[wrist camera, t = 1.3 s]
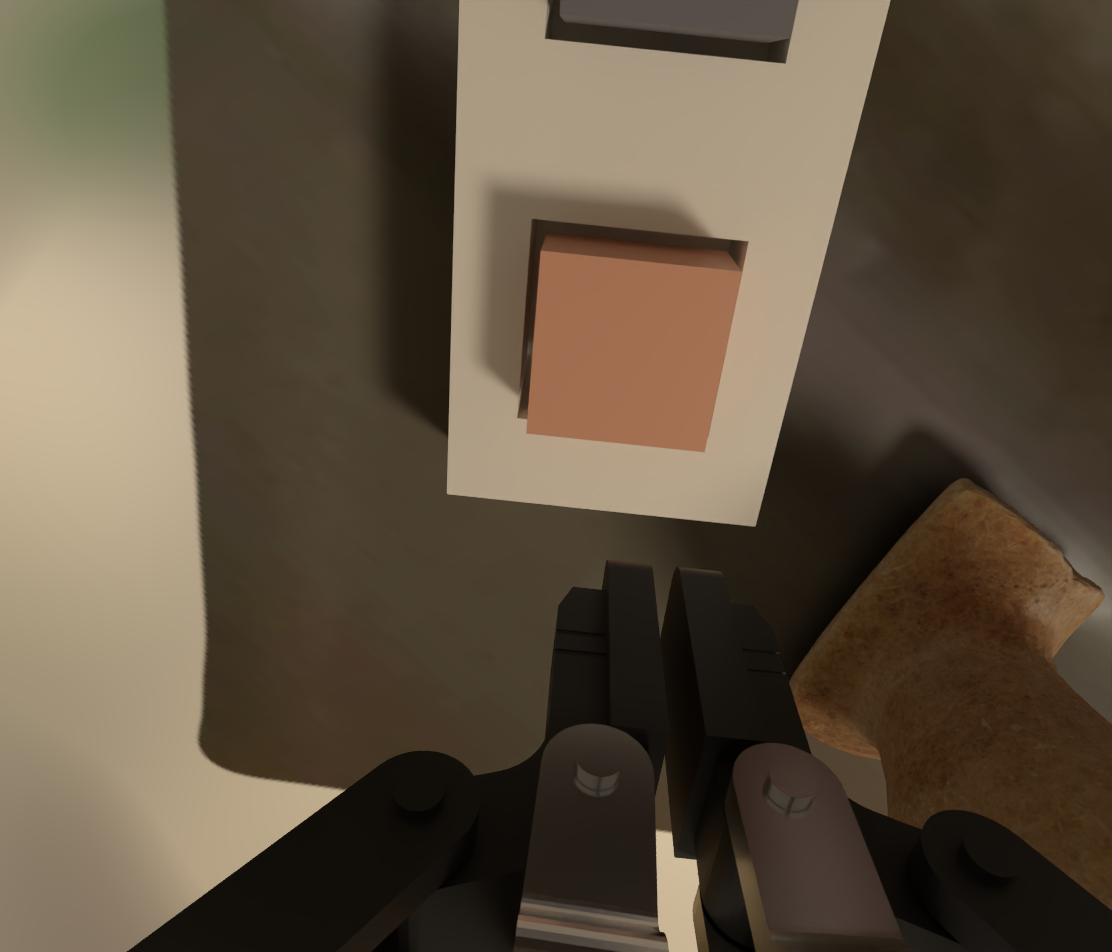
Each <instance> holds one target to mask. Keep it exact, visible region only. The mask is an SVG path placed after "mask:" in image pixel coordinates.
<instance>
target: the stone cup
mask: <svg viewBox="0 0 1112 952" xmlns="http://www.w3.org/2000/svg"><path fill="white" fill-rule="evenodd" d="M1103 601H1104V593H1103V591H1102V589H1101V588H1100V587H1099V586H1098V585H1096V584H1095V583H1094V582H1092V581H1091V580H1089V579H1087V578H1085V577H1083V576H1081V575H1080V574H1079V573H1078V572H1076V570H1075V569H1074V568H1073V567H1072V565H1071V564H1070V563H1069V561H1068V560H1067V559H1066V558H1065V557H1064V556H1063V555H1062V552H1061V551H1060V550H1059V548H1058V547H1057V546H1056V545H1055V544H1054V543H1053V542H1052V541H1050V540H1049V539H1048V538H1046V537H1045V536H1043V535H1042V534H1041V532H1040V531H1039V530H1038V529H1037V528H1036V527H1035V526H1034V525H1033V524H1031V523H1030V522H1029V521H1028V520H1026V519H1025V518H1024V517H1022V516H1021V515H1019V513H1018V511H1017V510H1015V509H1014V508H1013V507H1011V506H1009V505H1007V504H1006V503H1005V502H1003V501H1002V500H1001V499H999V498H998V497H996V496H995V495H993V494H992V493H990V492H989V491H987V490H985V489H983V488H981V487H979V486H977V485H976V484H974V483H973V482H972V481H971V480H969V479H967V478H961V479H958V480H957V481H955V482H953V483H952V484H950V485H949V486H948V487H947V488H946V489H945V490H944V491H943V492H942V493H941V494H940V495H939V496H938V497H937V498H936V499H935V500H934V502H933V503H932V504H931V505H930V506H929V507H928V508H927V509H926V510H925V511H924V512H923V514H922V515H921V516H920V517H919V518H918V519H917V520H916V521H915V522H914V523H913V524H912V525H911V526H910V527H909V529H908V530H907V531H906V532H905V533H904V534H903V535H902V537H901V538H900V539H899V540H898V541H897V542H896V544H895V545H894V546H893V547H892V548H891V550H890V551H889V552H888V553H887V554H886V555H885V557H884V558H883V559H882V560H881V561H880V563H879V564H878V565H877V566H876V567H875V568H874V570H873V571H872V572H871V573H870V575H869V576H868V577H867V578H866V580H865V581H864V582H863V583H862V584H861V585H860V586H859V587H858V589H857V590H856V591H855V592H854V594H853V595H852V596H851V597H850V599H849V600H848V601H847V602H846V603H845V605H844V606H843V607H842V608H841V610H840V611H839V612H838V613H837V615H836V616H835V617H834V618H833V620H832V621H831V622H830V624H829V625H828V626H827V627H826V629H825V630H824V631H823V633H822V634H821V635H820V637H819V638H818V639H817V640H816V642H815V643H814V645H813V646H812V648H811V649H810V651H809V652H808V653H807V655H806V656H805V657H804V659H803V660H802V662H801V663H800V664H799V666H798V667H797V669H796V670H795V672H794V673H793V675H792V677H791V679H790V681H789V684H790V687H791V690H792V694H793V697H794V700H795V703H796V706H797V710H798V713H799V716H800V719H801V722H802V725H803V729H804V731H806V732H807V733H808V734H810V735H811V736H813V737H814V738H816V739H818V740H819V741H821V742H823V743H825V744H827V745H830V746H832V747H834V748H837V749H840V750H842V751H845V752H848V753H850V754H853V755H857V756H862V757H867V758H873V759H879V760H881V762H882V766H883V771H884V775H885V779H886V786H887V804H888V817H890V818H893V819H895V820H898V821H900V822H903V823H906V824H908V825H911V826H914V827H916V828H919V829H922V828H923V826H924V824H925V822H926V821H927V820H928V819H929V818H930V817H931V816H932V815H934V814H936V813H937V812H941V811H945V810H964V811H969V812H973V813H976V814H979V815H982V816H985V817H987V818H989V819H992V820H994V821H996V822H998V823H999V824H1001V825H1003V826H1004V827H1006V828H1008V829H1009V830H1010V831H1012V832H1013V833H1015V834H1016V835H1017V836H1019V837H1020V838H1021V839H1022V840H1024V841H1025V842H1026V843H1028V844H1029V845H1030V846H1031V847H1033V848H1034V849H1035V850H1036V851H1038V852H1039V853H1040V854H1041V855H1043V856H1044V857H1045V858H1046V859H1048V860H1049V861H1050V862H1051V863H1053V864H1054V865H1055V866H1056V867H1058V868H1059V869H1060V870H1062V871H1063V872H1064V873H1065V874H1067V875H1068V876H1069V877H1070V878H1072V879H1073V880H1074V881H1075V882H1077V883H1078V884H1079V885H1080V886H1082V887H1083V888H1084V889H1085V890H1087V891H1088V892H1089V893H1090V894H1092V895H1093V896H1094V897H1096V898H1097V899H1098V900H1099V901H1101V902H1102V903H1103V904H1104V905H1106V906H1107V907H1108V908H1109V909H1111V910H1112V724H1111V723H1109V722H1108V721H1107V720H1106V719H1105V718H1104V717H1102V716H1101V715H1100V714H1099V713H1098V712H1097V711H1096V710H1094V709H1093V708H1092V707H1091V706H1090V705H1089V704H1088V703H1087V702H1086V701H1085V700H1084V699H1083V698H1082V697H1081V696H1080V695H1078V694H1077V693H1076V692H1075V691H1074V690H1073V689H1072V688H1071V687H1070V686H1069V685H1068V684H1067V683H1066V682H1065V680H1064V679H1063V678H1062V677H1061V676H1060V675H1059V674H1058V671H1057V669H1056V666H1055V663H1054V661H1053V657H1054V655H1055V654H1056V653H1057V652H1058V650H1059V649H1060V648H1061V646H1062V645H1063V644H1064V642H1065V641H1066V640H1067V639H1068V638H1069V636H1070V635H1071V634H1072V633H1073V632H1074V631H1075V630H1076V629H1077V628H1078V627H1079V626H1080V625H1081V624H1082V623H1083V622H1084V621H1085V620H1086V619H1087V618H1088V617H1089V616H1090V615H1091V614H1092V613H1093V612H1094V611H1095V609H1096V608H1097V607H1098V606H1099V605H1100V604H1101V603H1102V602H1103Z"/></svg>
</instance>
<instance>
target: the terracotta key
mask: <svg viewBox="0 0 1112 952" xmlns="http://www.w3.org/2000/svg"><path fill="white" fill-rule="evenodd" d="M741 274H742V271H741V270H740V268H739V267H738V266H737V264H736V263H735V261H734V260H733V259H732V257H731V256H730V255H729V253H728V252H727V251H720V250H710V249H701V248H691V247H682V246H672V245H662V244H653V243H643V242H634V241H624V240H614V239H605V238H595V237H586V236H576V235H566V234H557V233H547V234H546V237H545V240H544V243H543V246H542V248H541V253H540V265H539V278H538V291H537V303H536V316H535V328H534V341H533V354H532V366H531V379H530V391H529V404H528V417H527V429H526V434H535V435H545V436H554V437H564V438H573V439H583V440H592V441H602V442H611V443H621V444H630V445H640V446H649V447H659V448H668V449H678V450H687V451H696V452H705V448H706V443H707V438H708V434H709V429H710V424H711V419H712V414H713V409H714V405H715V400H716V395H717V390H718V385H719V380H720V376H721V371H722V366H723V361H724V356H725V351H726V347H727V342H728V337H729V332H730V327H731V322H732V318H733V313H734V308H735V303H736V298H737V293H738V289H739V284H740V279H741Z"/></svg>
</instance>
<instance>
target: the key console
mask: <svg viewBox="0 0 1112 952" xmlns="http://www.w3.org/2000/svg"><path fill="white" fill-rule="evenodd" d="M560 1H561V0H459V36H458V76H457V116H456V155H455V195H454V235H453V275H452V314H451V354H450V394H449V434H448V473H447V494H452V495H461V496H471V497H480V498H489V499H499V500H508V501H518V502H527V503H537V504H546V505H556V506H565V507H574V508H584V509H593V510H603V511H612V512H622V513H631V514H641V515H650V516H659V517H669V518H678V519H688V520H697V521H707V522H716V523H726V524H735V525H744V526H754V527H755V526H756V523H757V519H758V515H759V511H760V507H761V503H762V499H763V495H764V491H765V487H766V484H767V480H768V476H769V472H770V468H771V464H772V460H773V456H774V452H775V448H776V445H777V441H778V437H779V433H780V429H781V425H782V421H783V417H784V413H785V409H786V406H787V402H788V398H789V394H790V390H791V386H792V382H793V378H794V374H795V370H796V367H797V363H798V359H799V355H800V351H801V347H802V343H803V339H804V335H805V331H806V328H807V324H808V320H809V316H810V312H811V308H812V304H813V300H814V296H815V292H816V289H817V285H818V281H819V277H820V273H821V269H822V265H823V261H824V257H825V254H826V250H827V246H828V242H829V238H830V234H831V230H832V226H833V222H834V218H835V215H836V211H837V207H838V203H839V199H840V195H841V191H842V187H843V183H844V179H845V176H846V172H847V168H848V164H849V160H850V156H851V152H852V148H853V144H854V140H855V137H856V133H857V129H858V125H859V121H860V117H861V113H862V109H863V105H864V101H865V98H866V94H867V90H868V86H869V82H870V78H871V74H872V70H873V66H874V62H875V59H876V55H877V51H878V47H879V43H880V39H881V35H882V31H883V27H884V23H885V20H886V16H887V12H888V8H889V4H890V0H798V4H797V8H796V13H795V18H794V23H793V28H792V33H791V37H790V38H788V39H783V40H779V41H775V42H770V43H762V42H752V41H742V40H733V39H723V38H713V37H703V36H694V35H684V34H674V33H665V32H655V31H645V30H636V29H626V28H616V27H606V26H597V25H587V24H577V23H568V22H564V21H563V19H562V17H561V16H560ZM547 233H557V234H566V235H576V236H586V237H595V238H605V239H614V240H624V241H634V242H643V243H653V244H662V245H672V246H682V247H691V248H701V249H710V250H720V251H727V252H728V253H729V255H730V256H731V257H732V259H733V260H734V261H735V263H736V264H737V266H738V267H739V268H740V270H741V271H742V274H741V279H740V284H739V289H738V293H737V298H736V303H735V308H734V313H733V318H732V322H731V327H730V332H729V337H728V342H727V347H726V351H725V356H724V361H723V366H722V371H721V376H720V380H719V385H718V390H717V395H716V400H715V405H714V409H713V414H712V419H711V424H710V429H709V434H708V438H707V443H706V448H705V452H696V451H687V450H678V449H668V448H659V447H649V446H640V445H630V444H621V443H611V442H602V441H592V440H583V439H573V438H564V437H554V436H545V435H535V434H526V429H527V417H528V404H529V391H530V379H531V366H532V354H533V341H534V328H535V316H536V303H537V291H538V278H539V265H540V253H541V248H542V246H543V243H544V240H545V237H546V234H547Z"/></svg>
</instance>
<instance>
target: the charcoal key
mask: <svg viewBox="0 0 1112 952" xmlns="http://www.w3.org/2000/svg"><path fill="white" fill-rule="evenodd" d="M797 4H798V0H561V1H560V16H561V17H562V19H563V21H564V22H568V23H577V24H587V25H597V26H606V27H616V28H626V29H636V30H645V31H655V32H665V33H674V34H684V35H694V36H703V37H713V38H723V39H733V40H742V41H752V42H762V43H770V42H775V41H779V40H783V39H788V38H790V37H791V33H792V28H793V23H794V18H795V13H796V8H797Z"/></svg>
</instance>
